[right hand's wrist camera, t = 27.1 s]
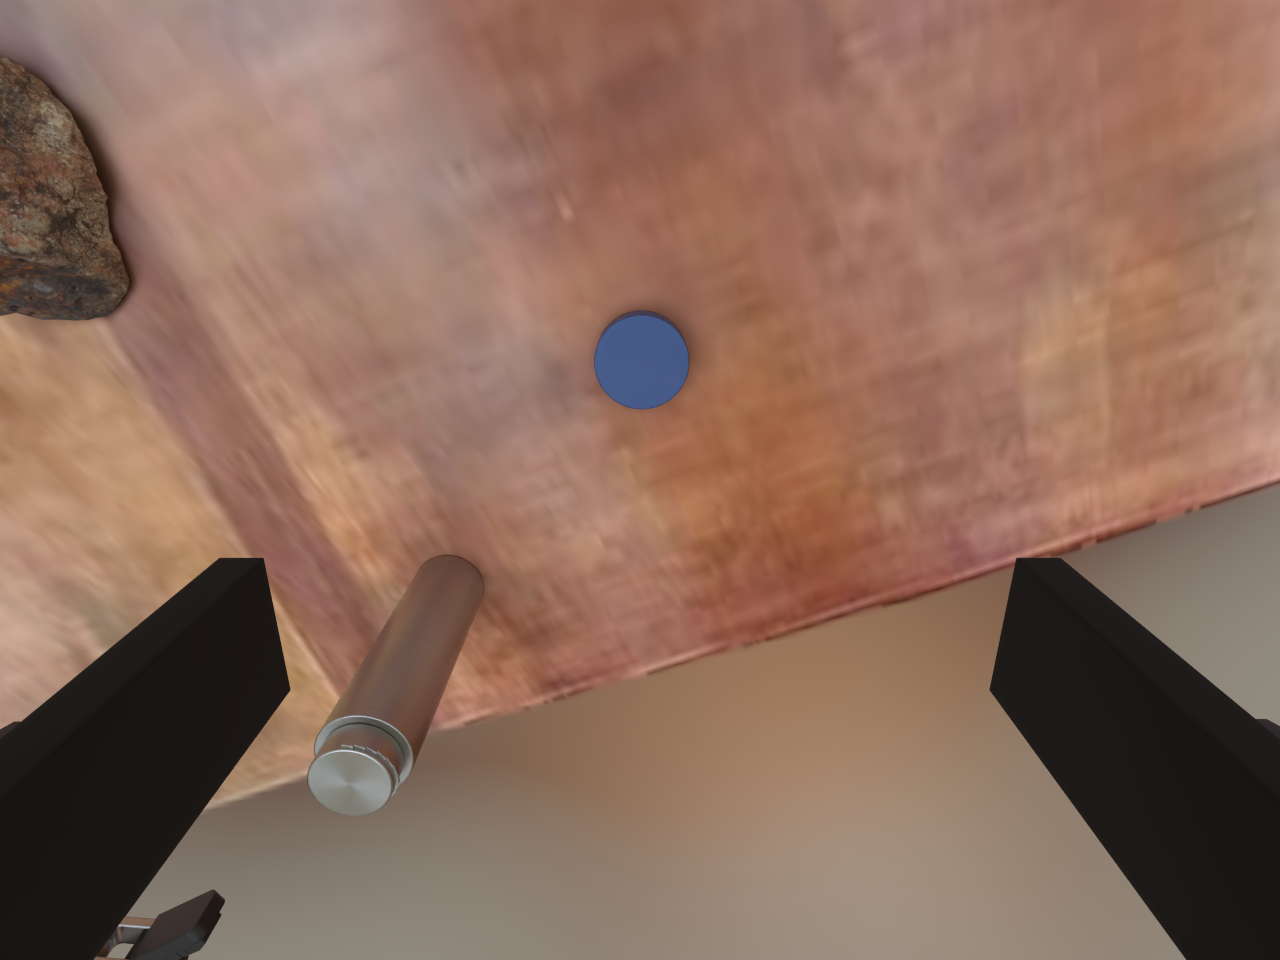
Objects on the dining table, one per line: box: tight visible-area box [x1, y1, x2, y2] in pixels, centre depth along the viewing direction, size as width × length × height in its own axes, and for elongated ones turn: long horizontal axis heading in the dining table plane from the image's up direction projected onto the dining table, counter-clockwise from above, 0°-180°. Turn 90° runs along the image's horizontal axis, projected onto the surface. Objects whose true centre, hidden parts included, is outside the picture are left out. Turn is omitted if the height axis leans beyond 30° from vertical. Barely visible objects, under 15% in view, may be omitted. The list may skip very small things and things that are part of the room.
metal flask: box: [307, 556, 484, 816], centre depth 35 cm, size 4×4×16 cm
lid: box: [594, 311, 689, 409], centre depth 37 cm, size 5×5×2 cm
